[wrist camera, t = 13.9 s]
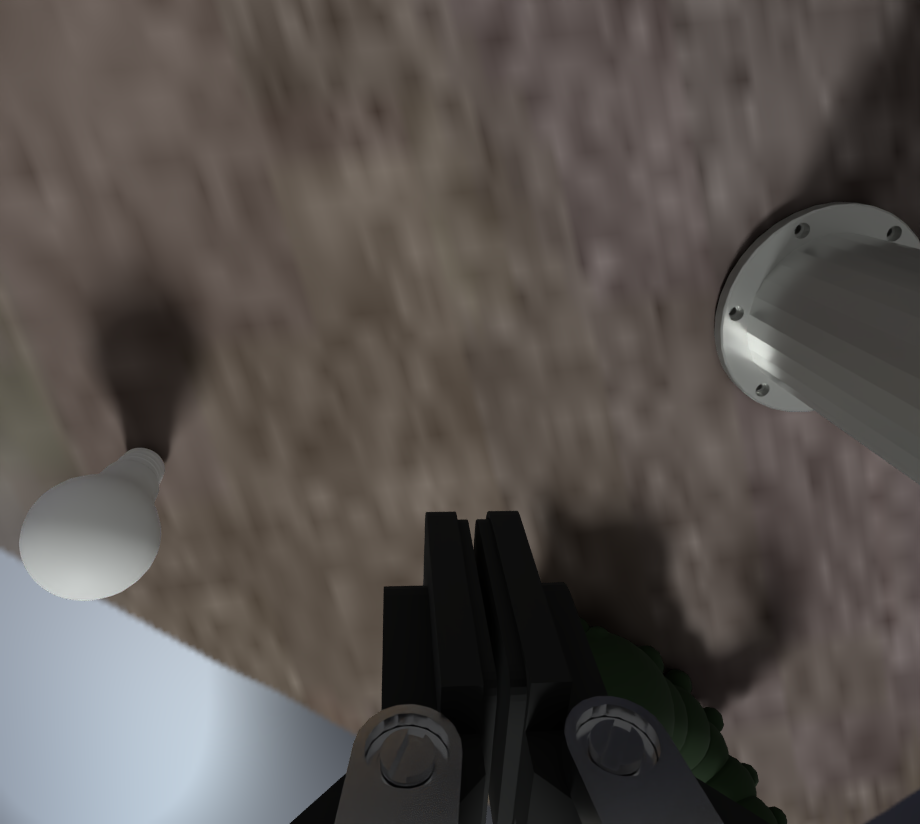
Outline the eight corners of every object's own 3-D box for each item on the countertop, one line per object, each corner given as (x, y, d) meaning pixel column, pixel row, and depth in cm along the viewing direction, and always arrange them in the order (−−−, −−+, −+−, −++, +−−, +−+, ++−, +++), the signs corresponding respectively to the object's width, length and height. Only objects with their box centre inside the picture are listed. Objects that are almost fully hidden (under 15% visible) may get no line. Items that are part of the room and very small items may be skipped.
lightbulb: (212, 495, 41) (154, 617, 31) (113, 509, 41) (23, 637, 31) (183, 407, 39) (111, 509, 29) (78, 421, 38) (-32, 530, 28)
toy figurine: (741, 683, 55) (543, 541, 44) (913, 950, 39) (664, 826, 28) (655, 747, 57) (448, 627, 47) (784, 1025, 41) (508, 937, 30)
